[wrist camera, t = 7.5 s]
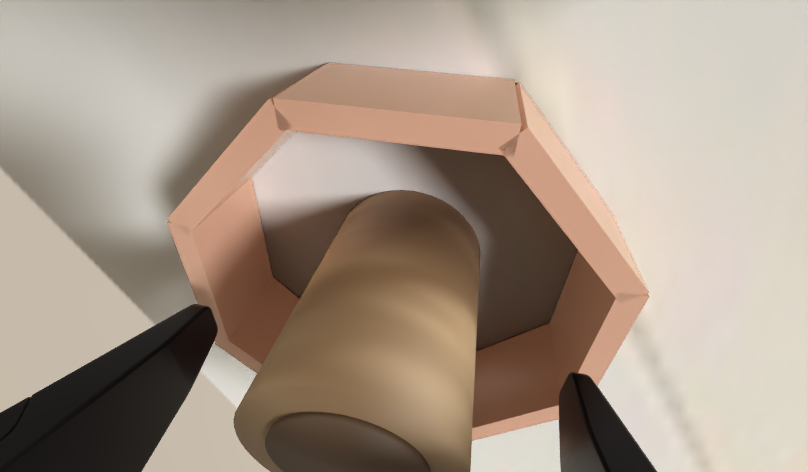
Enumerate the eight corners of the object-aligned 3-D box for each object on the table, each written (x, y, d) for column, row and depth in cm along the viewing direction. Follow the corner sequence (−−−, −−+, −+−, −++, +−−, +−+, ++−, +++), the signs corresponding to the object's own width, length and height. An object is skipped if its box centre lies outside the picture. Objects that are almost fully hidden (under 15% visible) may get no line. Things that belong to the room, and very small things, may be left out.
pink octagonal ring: (668, 93, 9) (736, 146, 6) (541, 386, 15) (550, 466, 13) (203, 51, 10) (112, 81, 8) (272, 336, 17) (235, 400, 14)
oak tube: (492, 201, 11) (489, 431, 6) (469, 313, 14) (453, 539, 8) (336, 180, 12) (201, 372, 6) (343, 292, 14) (254, 491, 9)
